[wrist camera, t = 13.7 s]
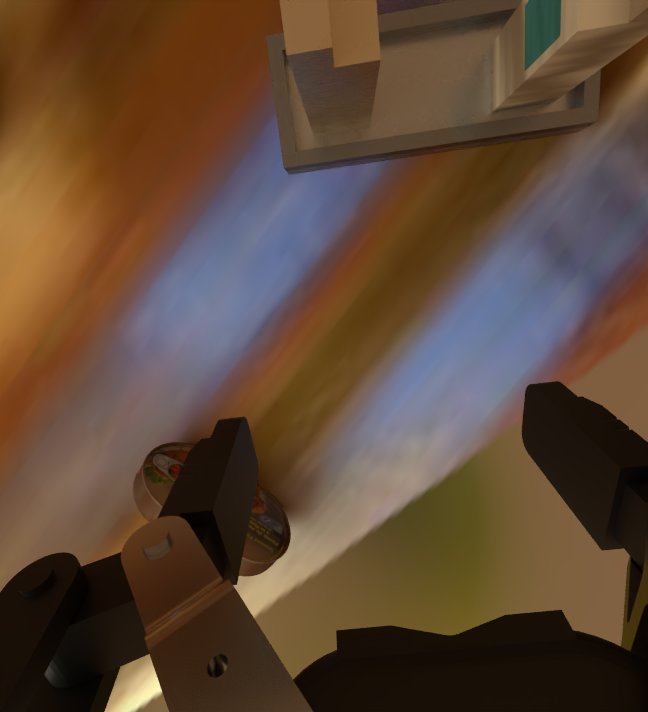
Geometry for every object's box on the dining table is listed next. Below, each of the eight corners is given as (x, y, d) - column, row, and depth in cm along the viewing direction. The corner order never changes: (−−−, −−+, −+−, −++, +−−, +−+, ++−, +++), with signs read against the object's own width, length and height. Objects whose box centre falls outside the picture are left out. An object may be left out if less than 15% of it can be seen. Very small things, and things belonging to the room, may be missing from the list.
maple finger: (492, 111, 28) (602, 5, 16) (491, 43, 27) (609, -127, 15) (553, 102, 28) (717, -15, 16) (555, 32, 27) (732, -152, 14)
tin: (297, 511, 40) (284, 577, 32) (280, 531, 41) (263, 601, 33) (173, 427, 39) (126, 475, 31) (157, 450, 40) (107, 502, 31)
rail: (289, 174, 32) (241, 118, 18) (273, 53, 30) (204, -117, 16) (576, 132, 30) (776, 30, 16) (581, -1, 28) (817, -255, 14)
